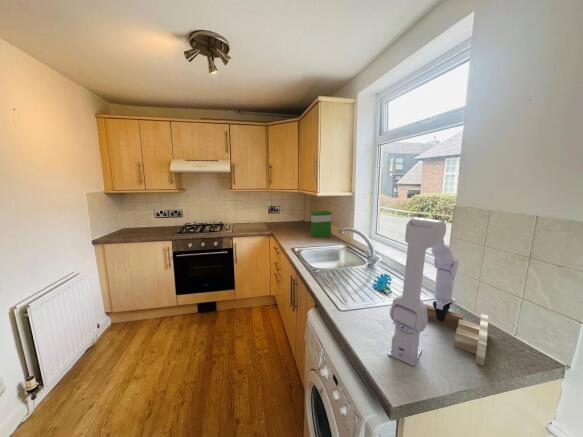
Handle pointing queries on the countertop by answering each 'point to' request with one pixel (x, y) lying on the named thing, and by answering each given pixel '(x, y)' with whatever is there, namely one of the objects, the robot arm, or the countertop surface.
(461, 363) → the countertop surface
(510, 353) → the countertop surface
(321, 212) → the hardback book
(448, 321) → the bed rail
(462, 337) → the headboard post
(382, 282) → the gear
